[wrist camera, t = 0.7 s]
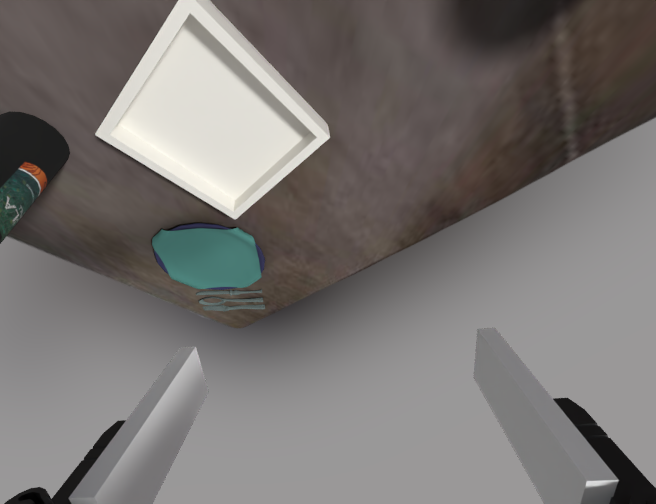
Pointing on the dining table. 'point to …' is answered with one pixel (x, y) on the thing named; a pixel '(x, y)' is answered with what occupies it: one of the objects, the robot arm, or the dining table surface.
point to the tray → (212, 112)
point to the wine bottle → (26, 163)
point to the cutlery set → (211, 260)
